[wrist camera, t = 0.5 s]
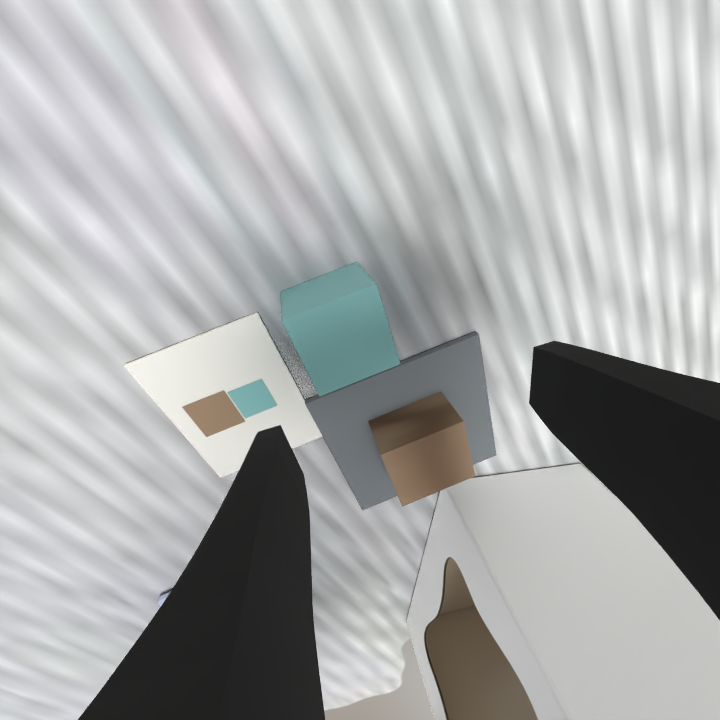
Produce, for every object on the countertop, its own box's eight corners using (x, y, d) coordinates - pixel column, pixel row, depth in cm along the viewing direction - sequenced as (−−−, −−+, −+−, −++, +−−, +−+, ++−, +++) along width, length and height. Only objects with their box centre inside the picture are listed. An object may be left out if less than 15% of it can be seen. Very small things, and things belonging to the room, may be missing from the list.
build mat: (361, 505, 25) (362, 510, 25) (304, 400, 20) (305, 404, 19) (493, 451, 26) (496, 455, 25) (475, 331, 20) (478, 334, 19)
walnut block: (388, 470, 23) (402, 506, 21) (368, 420, 21) (380, 455, 18) (453, 443, 24) (475, 476, 21) (441, 391, 21) (463, 421, 18)
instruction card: (220, 475, 21) (220, 478, 21) (124, 364, 16) (123, 366, 16) (323, 434, 21) (323, 436, 21) (257, 311, 16) (256, 313, 16)
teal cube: (311, 355, 18) (319, 396, 15) (280, 291, 16) (281, 320, 13) (378, 329, 19) (400, 363, 15) (355, 261, 16) (376, 283, 13)
